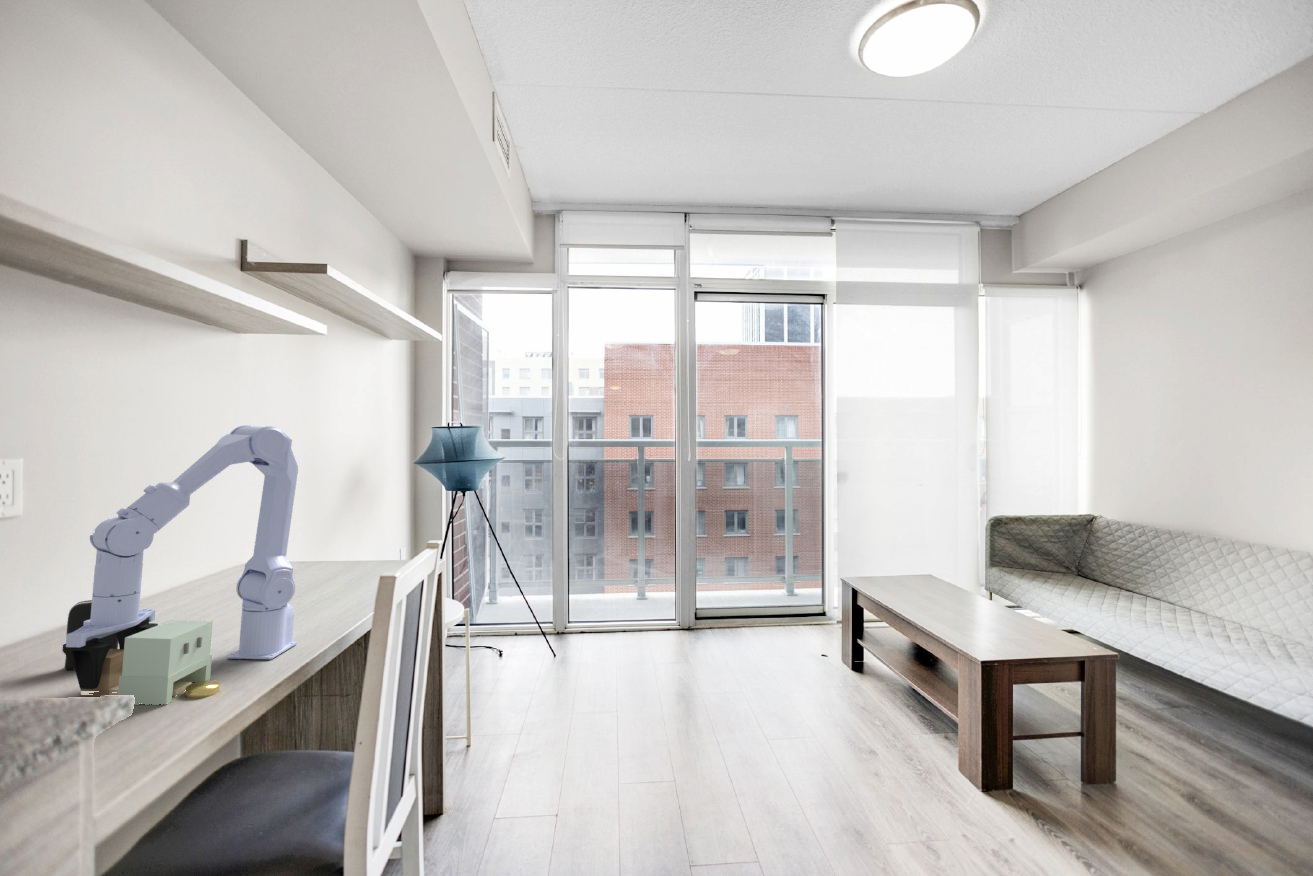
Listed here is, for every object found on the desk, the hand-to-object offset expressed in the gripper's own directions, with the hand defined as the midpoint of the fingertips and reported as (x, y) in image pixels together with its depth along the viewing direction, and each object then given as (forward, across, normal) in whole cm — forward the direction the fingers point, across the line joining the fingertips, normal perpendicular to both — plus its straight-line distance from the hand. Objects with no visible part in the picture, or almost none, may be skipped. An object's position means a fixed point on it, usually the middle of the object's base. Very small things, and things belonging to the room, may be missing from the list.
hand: (109, 678), depth 94 cm
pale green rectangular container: (+2, 0, +9) cm, 9 cm away
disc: (+2, 0, +14) cm, 14 cm away
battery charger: (+2, -11, -11) cm, 16 cm away
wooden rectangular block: (+2, 0, +4) cm, 5 cm away
